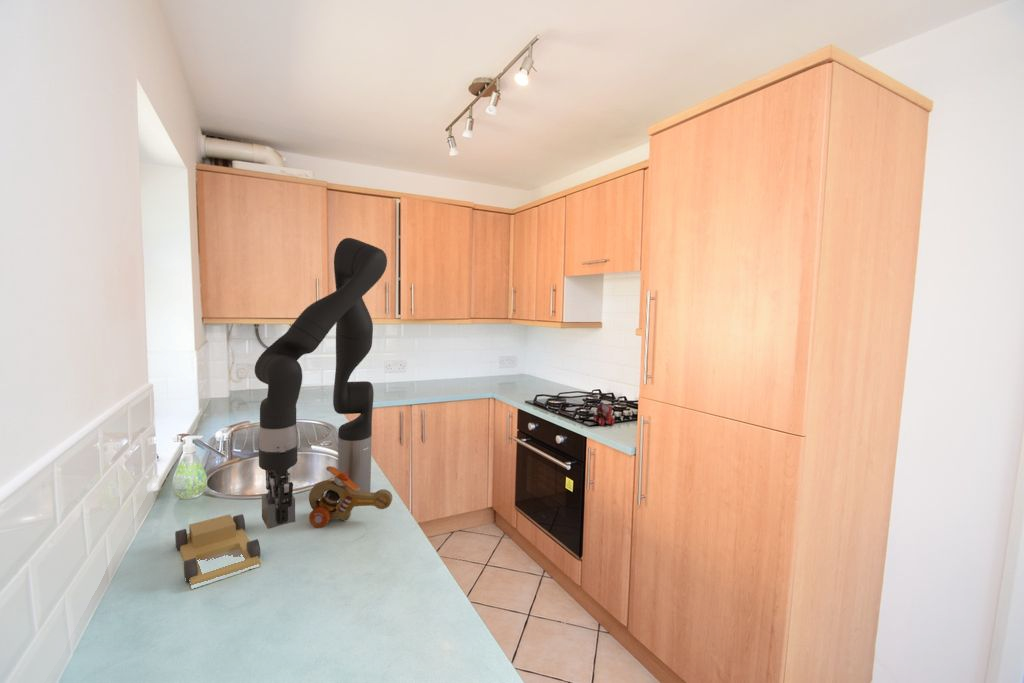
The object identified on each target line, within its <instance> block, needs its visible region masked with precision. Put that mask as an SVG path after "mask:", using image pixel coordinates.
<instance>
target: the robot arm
mask: <svg viewBox="0 0 1024 683" xmlns="http://www.w3.org/2000/svg"><path fill="white" fill-rule="evenodd" d="M333 256H334V257H333V272H334V273H333V274H334V282H335V283H334V284H335V291H333V292H332V293H330V294H328V295H326V296H324V297H322V298H320V299H318V300H316V301H314V302H312V303H311V304H309V305H308V306H307V307H306V308H305V309H304V310H303V311H302V312H300V314H299V316H297V318H296V319H295V320H294V321H293V323H292V324H291V326H289V328H288V330H287V331H286V332H285V333H284V334H282V335H281V336H280V337H279V338H277V340H275V341H274V342H273V343H272V344H271V345H270V346H268V347H266V349H265V350H264V351H263V352H262V353H261V355H260V356H259V357H258V359H257V360H256V362H255V365H254V374H255V377H256V379H257V380H259V381H260V382H261V383H263V384H266V385H267V397H265V398H264V399H262V400H261V403H260V406H259V431H258V466H259V468H260V469H261V470H264V472H265V489H266V490H267V493H272V497H273V498H275V502H276V505H275V506H276V522H277V524H282V523H285V522H287V521H288V507H291V506H292V494H293V489H294V483H293V481H291V473H290V472H289V471H288V470H290V469H291V468H292V467H294V466H295V465H296V464H297V463H298V427H297V402H298V399H299V396H300V392H301V388H302V384H303V370H302V366H301V364H300V363H299V359H300V358H301V357H302V356H304V355H306V354H307V355H308V354H311V353H313V352H314V351H315V350H316V349H317V348H318V347H319V346H320V344H321V343H322V341H323V340H324V339H325V338H326V336H327V335H328V334H329V333H330V331H331V329H332V328H333V327H334V326H335V373H334V374H335V375H334V384H333V395H332V406H333V409H334V410H333V411H335V412H336V414H339V415H353V414H354V415H355V414H359V415H358V416H357V417H356V418H354V419H353V420H351V421H347V422H346V423H343V424H341V425H340V426H339V427H338V429H337V430H338V431H337V432H338V433H337V434H338V435H337V469H338V470H339V471H341V472H342V473H347V474H348V478H349V479H350V480H351V481H352V482H354V483H355V484H356V485H357V486H359V487H360V490H359V491H355V492H371V486H372V485H371V481H372V479H371V478H372V475H371V474H372V442H373V441H372V436H373V435H372V431H373V430H372V429H373V428H372V426H373V424H372V423H373V410H374V408H373V406H374V397H375V396H374V386H373V384H372V383H371V382H370V381H363V380H362V381H349V379H350V376H351V375H352V373H353V372H354V370H356V368H357V367H358V366H359V365H360V363H361V362H362V361H363V360H364V359H365V358H366V357H367V355H368V354H369V352H370V351H371V349H372V347H373V346H372V345H373V335H374V324H373V323H374V322H373V320H372V317H371V314H370V312H369V309H368V308H367V305H366V303H365V301H364V298H363V297H364V296H365V295H366V294H367V293H368V291H369V292H370V290H371V289H372V288H373V287H374V286H375V285H376V284H377V283H378V282H379V280H380V279H381V278H382V277H383V275H384V273H385V272H386V268H387V264H388V257H387V254H386V252H385V251H384V250H382V249H381V248H379V247H377V246H375V245H372V244H369V243H367V242H364V241H362V240H359V239H357V238H356V239H355V238H352V237H346V238H343V239H341V241H339V243H338V244H337V245H336V249H335V250H334V255H333ZM276 491H279V493H276ZM353 491H354V490H353ZM283 500H285V501H283ZM282 501H283V502H282Z"/></svg>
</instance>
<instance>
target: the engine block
mask: <svg viewBox="0 0 1024 683" xmlns="http://www.w3.org/2000/svg"><path fill="white" fill-rule="evenodd" d="M276 493H279V491H276ZM283 501H285V500H283ZM283 501H282V502H283ZM275 505H276V502H275V498H273V497H272V493H268V492H267V493H264V494H263V493H262V494H261V519H262V521H263V523H264V525H265V527H266V528H267V530H270V529H273V528H277V527H281V526H284V525H287V524H291V523H295V522H296V497H295V496H294V495H293V493H292V506H291V507H288V521H287V522H285V523H282V524H277V522H276V506H275Z"/></svg>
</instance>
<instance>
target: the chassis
mask: <svg viewBox="0 0 1024 683" xmlns="http://www.w3.org/2000/svg"><path fill="white" fill-rule="evenodd" d="M188 527H189V528H188V529H189V530H188V531H189V532H187V529H186V528H183V529H180V530H176V531H175V532H174V534H175V539H174V540H175V547H176V548H177V549H176V550H177V551H178V550H179V551H180V555H182V556H181V558H183V559H182V562H183V561H184V562H183V572H184V579H185V578H186V581H188V580H190V583H191V585H194V584H197V583H201V582H204V581H208V580H211V579H214V578H216V577H220V576H223V575H227V574H230V573H233V572H237V571H239V570H243V569H245V568H248V567H251V566H254V565H257V564H260V565H261V559H260V558H261V546H260V541H259V539H257V538H256V539H252V540H250V539H249V538H248V535H247V533H246V532H245V531H246V523H245V517H244V514H243V513H241V514H237V515H234V516H232V515H231V513H230V514H226V515H221V516H218V517H214V518H209V519H206V520H202V521H199V522H195V523H190V524H188ZM241 554H242V555H243V557H244V558H245V560H244V561H241V562H238V563H234V564H231V565H228V566H225V567H222V568H219V569H216V570H213V571H210V572H207V573H204V574H202V572H201V569H200V566H199V564H198V561H197V560H199V559H200V560H205V559H207V560H206V561H208V560H210V559H212V558H214V559H216V558H219V557H222V556H224V555H225V556H226V555H228V556H231V555H233V557H238V556H239V557H241V556H240V555H241ZM200 560H199V561H200ZM212 560H213V559H212ZM186 581H185V582H186ZM188 582H189V581H188ZM190 583H189V584H190Z"/></svg>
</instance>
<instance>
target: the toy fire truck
mask: <svg viewBox="0 0 1024 683" xmlns="http://www.w3.org/2000/svg"><path fill="white" fill-rule="evenodd" d="M612 410H613V407H612V405H608V404H607V403H604V402H603V401H600V402H599V404H598V405H597V408H596V412H595V414H594V415H593V422H594V421H595V422H598V423H599V424H598V423H597V424H598V425H599V426H600V427H604V425H609V426H614V425H615V419H614V417H613V416H612ZM595 422H594V423H595Z"/></svg>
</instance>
